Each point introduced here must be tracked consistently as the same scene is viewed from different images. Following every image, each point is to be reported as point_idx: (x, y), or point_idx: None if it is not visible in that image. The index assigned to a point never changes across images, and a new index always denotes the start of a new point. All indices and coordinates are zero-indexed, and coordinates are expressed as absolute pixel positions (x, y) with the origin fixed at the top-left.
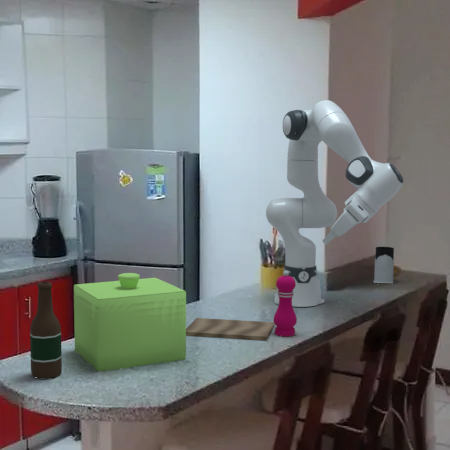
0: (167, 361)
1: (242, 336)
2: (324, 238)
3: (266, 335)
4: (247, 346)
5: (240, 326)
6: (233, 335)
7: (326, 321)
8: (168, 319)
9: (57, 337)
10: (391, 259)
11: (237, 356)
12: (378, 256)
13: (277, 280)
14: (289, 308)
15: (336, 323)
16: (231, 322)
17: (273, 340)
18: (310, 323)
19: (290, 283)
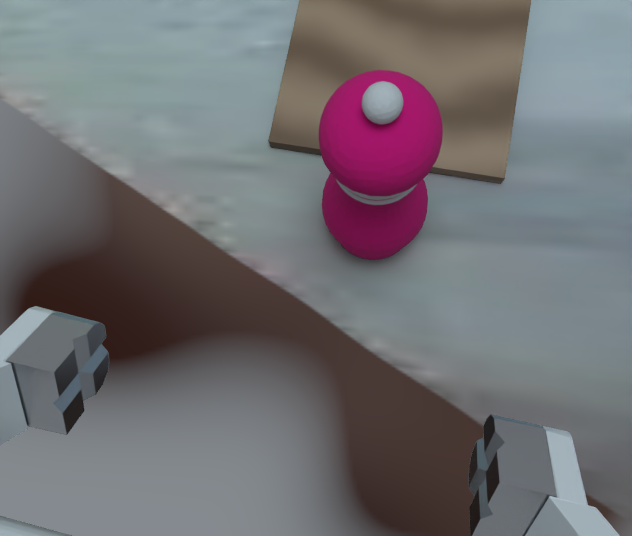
0: None
1: (288, 56)
2: (7, 331)
3: (287, 140)
4: (196, 80)
5: (421, 43)
6: (294, 24)
7: (615, 427)
8: None
9: None
10: None
11: (81, 51)
12: None
13: (369, 71)
14: (341, 200)
15: (580, 472)
16: (485, 7)
17: (276, 172)
18: (566, 345)
19: (324, 153)
